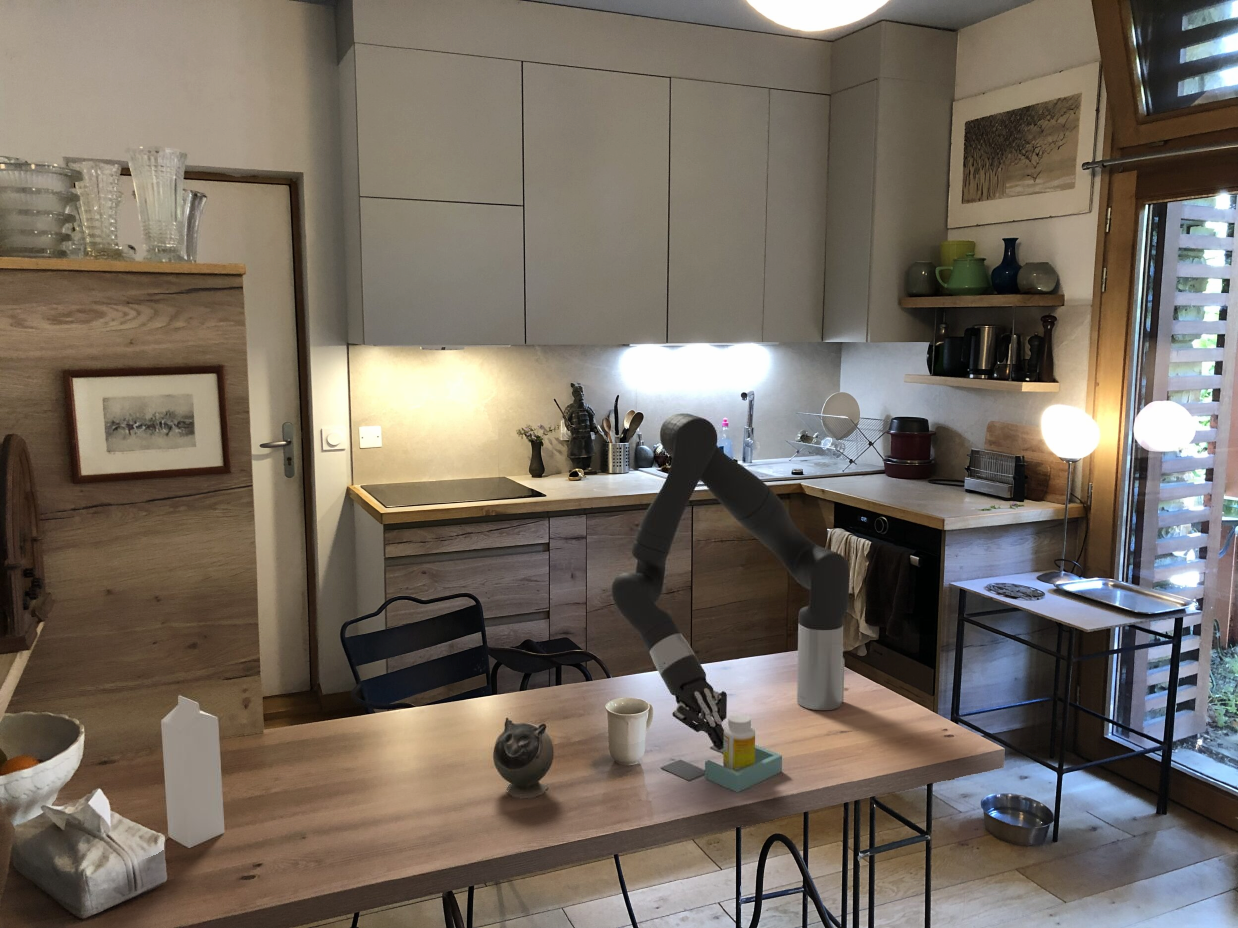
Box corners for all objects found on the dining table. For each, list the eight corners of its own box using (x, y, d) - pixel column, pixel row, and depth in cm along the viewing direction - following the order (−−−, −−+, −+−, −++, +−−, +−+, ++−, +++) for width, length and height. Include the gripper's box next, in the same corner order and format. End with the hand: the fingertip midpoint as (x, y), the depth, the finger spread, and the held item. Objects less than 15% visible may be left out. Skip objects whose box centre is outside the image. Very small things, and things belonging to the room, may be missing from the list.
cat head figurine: (490, 804, 161) (552, 802, 161) (487, 735, 160) (550, 733, 159) (499, 777, 171) (557, 775, 171) (495, 712, 170) (554, 710, 169)
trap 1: (680, 760, 177) (680, 759, 177) (708, 772, 172) (708, 771, 172) (660, 768, 174) (660, 767, 174) (688, 781, 169) (688, 779, 169)
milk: (204, 822, 155) (196, 689, 153) (225, 833, 152) (218, 697, 149) (167, 837, 150) (159, 700, 148) (188, 849, 147) (180, 708, 144)
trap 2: (727, 740, 186) (727, 739, 186) (755, 751, 181) (755, 750, 181) (709, 747, 183) (709, 746, 183) (738, 759, 177) (738, 758, 177)
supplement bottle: (761, 772, 172) (761, 717, 171) (742, 783, 168) (742, 726, 167) (735, 763, 176) (736, 709, 174) (716, 773, 172) (717, 718, 170)
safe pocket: (749, 758, 178) (749, 742, 178) (781, 771, 172) (782, 755, 172) (704, 777, 170) (705, 761, 170) (737, 792, 164) (737, 775, 164)
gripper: (661, 661, 175) (710, 747, 167) (712, 646, 183) (760, 727, 176) (641, 681, 179) (687, 766, 172) (691, 666, 188) (737, 746, 180)
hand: (724, 746), depth 174 cm, fingers closed
